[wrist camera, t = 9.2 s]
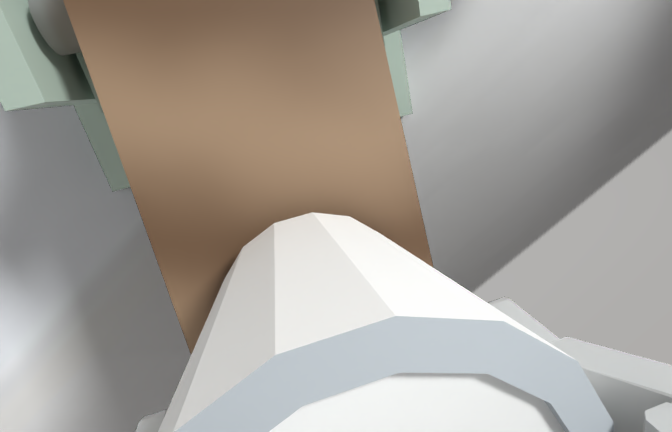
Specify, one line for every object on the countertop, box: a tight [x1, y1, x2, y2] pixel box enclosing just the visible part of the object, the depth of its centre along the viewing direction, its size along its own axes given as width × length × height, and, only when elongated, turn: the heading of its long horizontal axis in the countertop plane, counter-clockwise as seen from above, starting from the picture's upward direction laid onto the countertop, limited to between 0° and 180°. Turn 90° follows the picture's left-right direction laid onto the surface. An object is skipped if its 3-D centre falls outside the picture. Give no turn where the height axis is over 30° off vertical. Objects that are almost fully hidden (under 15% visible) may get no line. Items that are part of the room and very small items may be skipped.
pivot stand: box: [0, 0, 451, 192], centre depth 14 cm, size 16×12×10 cm
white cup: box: [158, 212, 614, 432], centre depth 8 cm, size 7×7×7 cm
